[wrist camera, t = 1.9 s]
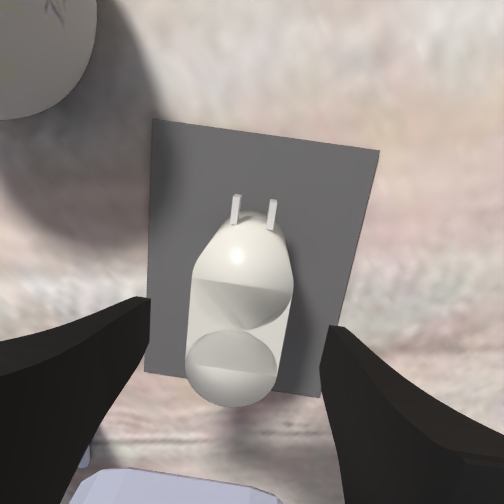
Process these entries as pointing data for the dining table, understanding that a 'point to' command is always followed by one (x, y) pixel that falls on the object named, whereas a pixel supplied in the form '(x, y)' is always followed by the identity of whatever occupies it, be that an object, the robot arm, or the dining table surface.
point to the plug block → (239, 309)
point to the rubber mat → (257, 198)
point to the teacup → (42, 52)
